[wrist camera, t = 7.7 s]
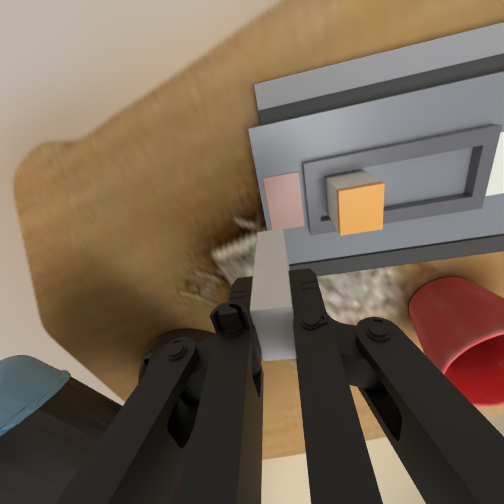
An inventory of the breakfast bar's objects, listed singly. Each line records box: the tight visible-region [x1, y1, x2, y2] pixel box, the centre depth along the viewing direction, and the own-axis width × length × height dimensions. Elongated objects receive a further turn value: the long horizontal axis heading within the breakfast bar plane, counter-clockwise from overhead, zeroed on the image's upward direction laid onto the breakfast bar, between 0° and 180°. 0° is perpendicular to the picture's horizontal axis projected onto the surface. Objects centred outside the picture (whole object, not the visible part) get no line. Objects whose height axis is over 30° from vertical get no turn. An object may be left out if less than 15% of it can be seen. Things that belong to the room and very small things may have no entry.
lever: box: [325, 169, 385, 236], centre depth 20 cm, size 3×3×5 cm
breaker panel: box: [248, 71, 504, 264], centre depth 22 cm, size 22×13×4 cm, turn 102°
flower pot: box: [409, 277, 504, 406], centre depth 27 cm, size 11×11×10 cm
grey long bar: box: [254, 22, 504, 125], centre depth 19 cm, size 24×3×2 cm, turn 102°
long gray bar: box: [289, 233, 504, 276], centre depth 27 cm, size 24×3×2 cm, turn 102°
